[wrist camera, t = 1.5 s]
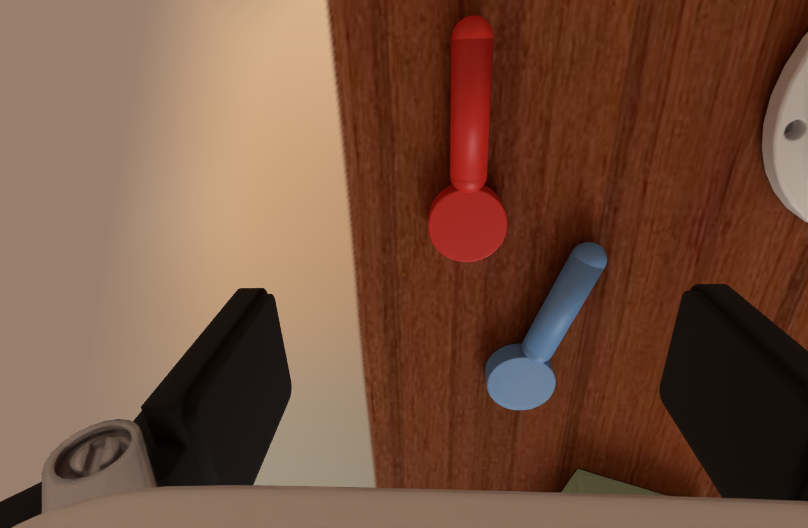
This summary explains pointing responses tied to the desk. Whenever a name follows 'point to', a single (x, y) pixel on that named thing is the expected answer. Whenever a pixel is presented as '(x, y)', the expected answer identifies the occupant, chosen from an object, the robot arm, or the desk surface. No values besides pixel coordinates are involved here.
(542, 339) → the blue spoon
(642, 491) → the tray
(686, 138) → the desk surface
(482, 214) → the red spoon
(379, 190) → the desk surface
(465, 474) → the desk surface
